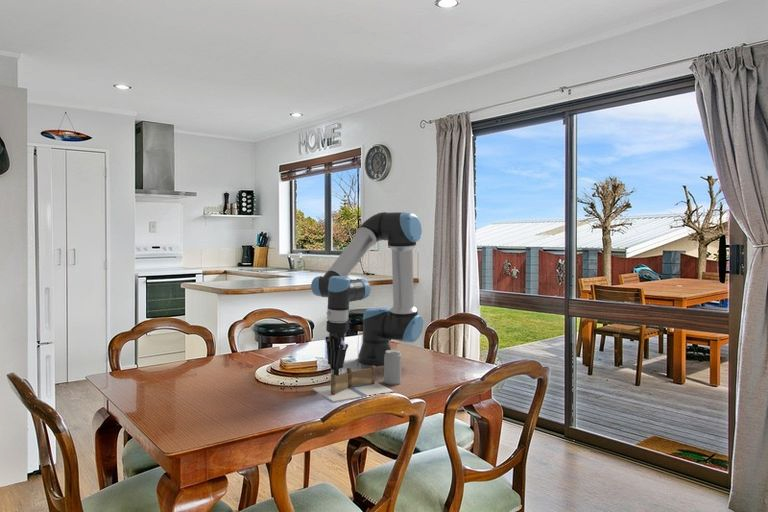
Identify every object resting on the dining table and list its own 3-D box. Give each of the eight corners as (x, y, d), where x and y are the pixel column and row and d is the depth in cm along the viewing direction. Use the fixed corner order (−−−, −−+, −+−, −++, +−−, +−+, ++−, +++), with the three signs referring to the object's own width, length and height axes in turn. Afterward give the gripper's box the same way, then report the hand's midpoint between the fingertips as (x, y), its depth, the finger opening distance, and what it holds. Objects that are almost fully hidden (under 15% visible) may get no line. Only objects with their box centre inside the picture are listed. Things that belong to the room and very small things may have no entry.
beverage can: (386, 385, 199) (387, 353, 199) (381, 380, 206) (382, 349, 205) (402, 384, 201) (403, 353, 200) (397, 380, 207) (398, 349, 207)
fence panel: (329, 393, 185) (330, 375, 185) (344, 386, 194) (345, 369, 193) (333, 394, 184) (334, 376, 184) (349, 387, 193) (349, 370, 192)
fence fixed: (345, 388, 195) (346, 367, 194) (373, 383, 201) (373, 364, 201) (347, 389, 193) (348, 369, 193) (375, 385, 200) (376, 365, 199)
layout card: (312, 389, 192) (312, 387, 192) (370, 380, 205) (370, 379, 205) (333, 402, 179) (333, 400, 179) (393, 392, 192) (393, 390, 192)
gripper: (320, 317, 192) (317, 382, 194) (336, 325, 181) (332, 393, 184) (338, 316, 196) (335, 379, 198) (355, 323, 185) (352, 390, 188)
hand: (334, 386), depth 191 cm, fingers closed
